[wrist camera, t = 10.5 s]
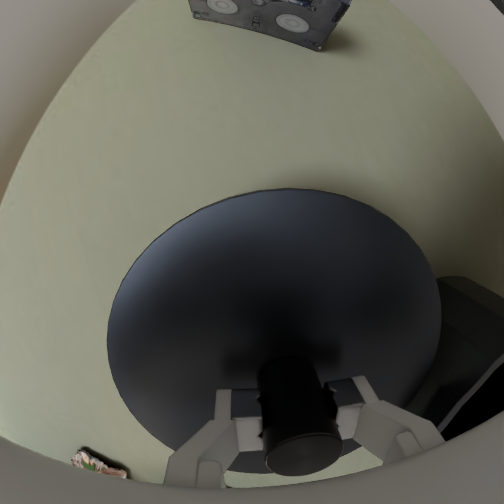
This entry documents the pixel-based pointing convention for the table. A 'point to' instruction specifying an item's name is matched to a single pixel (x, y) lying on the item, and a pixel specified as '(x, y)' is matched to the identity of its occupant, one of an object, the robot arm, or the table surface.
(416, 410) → the waste tin
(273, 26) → the mini dv tape
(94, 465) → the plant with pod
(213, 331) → the tin lid
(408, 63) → the table surface
